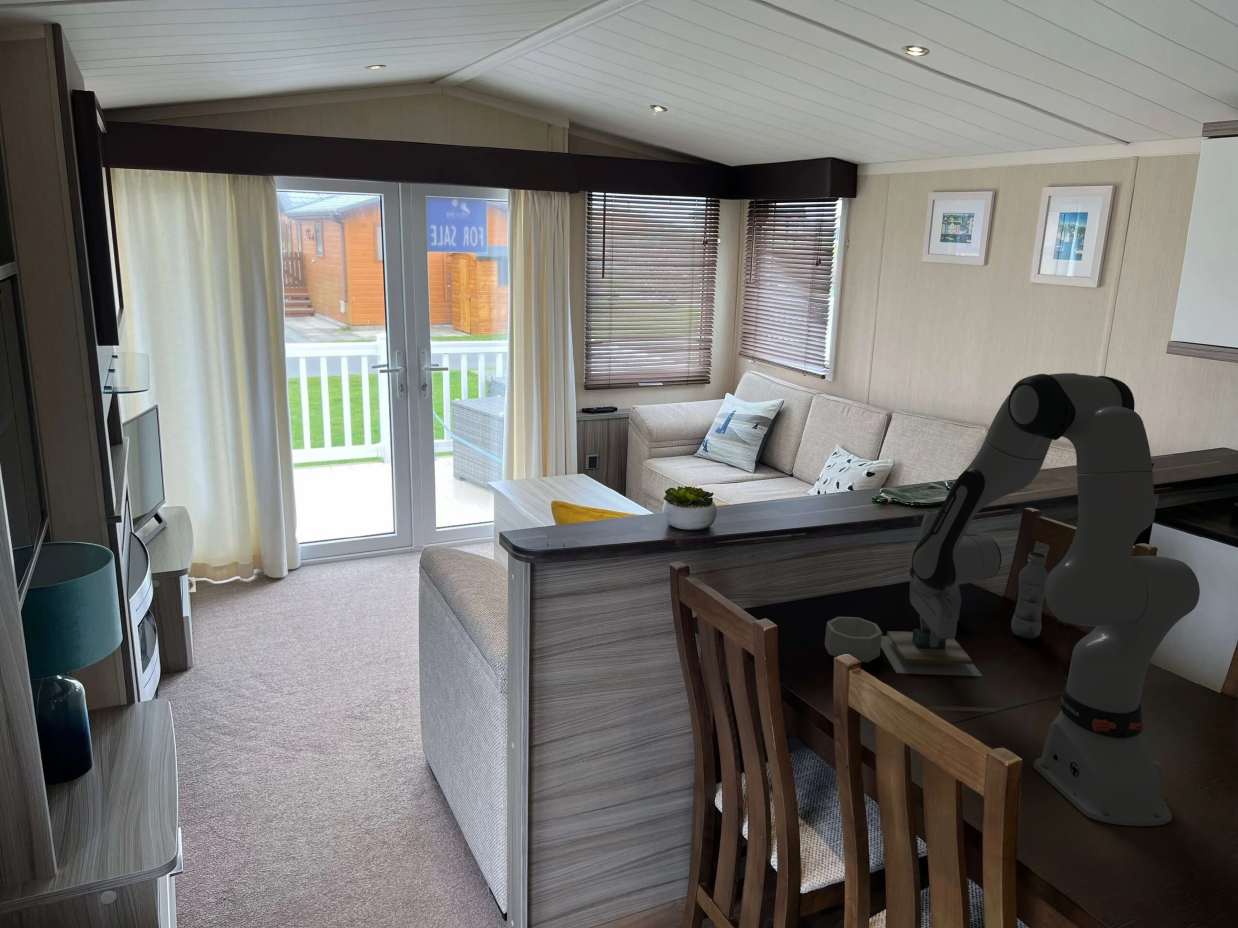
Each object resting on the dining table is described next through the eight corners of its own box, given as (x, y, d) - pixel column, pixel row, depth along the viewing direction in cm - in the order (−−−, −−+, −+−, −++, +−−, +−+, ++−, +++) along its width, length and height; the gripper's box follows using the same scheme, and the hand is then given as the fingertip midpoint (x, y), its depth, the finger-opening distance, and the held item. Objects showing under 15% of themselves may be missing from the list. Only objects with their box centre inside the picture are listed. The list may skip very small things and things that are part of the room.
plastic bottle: (1033, 630, 214) (1046, 550, 209) (1044, 643, 208) (1057, 561, 203) (1005, 628, 215) (1017, 548, 210) (1014, 641, 209) (1027, 559, 204)
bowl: (883, 665, 195) (886, 639, 193) (831, 663, 195) (834, 637, 193) (870, 642, 205) (872, 617, 204) (821, 640, 205) (823, 616, 204)
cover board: (972, 664, 191) (974, 647, 190) (905, 662, 191) (907, 645, 190) (949, 636, 205) (951, 620, 204) (886, 634, 205) (888, 618, 204)
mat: (982, 678, 190) (982, 675, 190) (896, 675, 190) (896, 672, 190) (952, 640, 208) (953, 638, 208) (873, 637, 208) (874, 635, 208)
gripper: (968, 599, 184) (960, 662, 187) (935, 564, 204) (928, 622, 207) (937, 598, 184) (929, 661, 187) (907, 563, 204) (900, 621, 207)
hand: (928, 640), depth 198 cm, fingers closed on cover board, 3 cm apart
